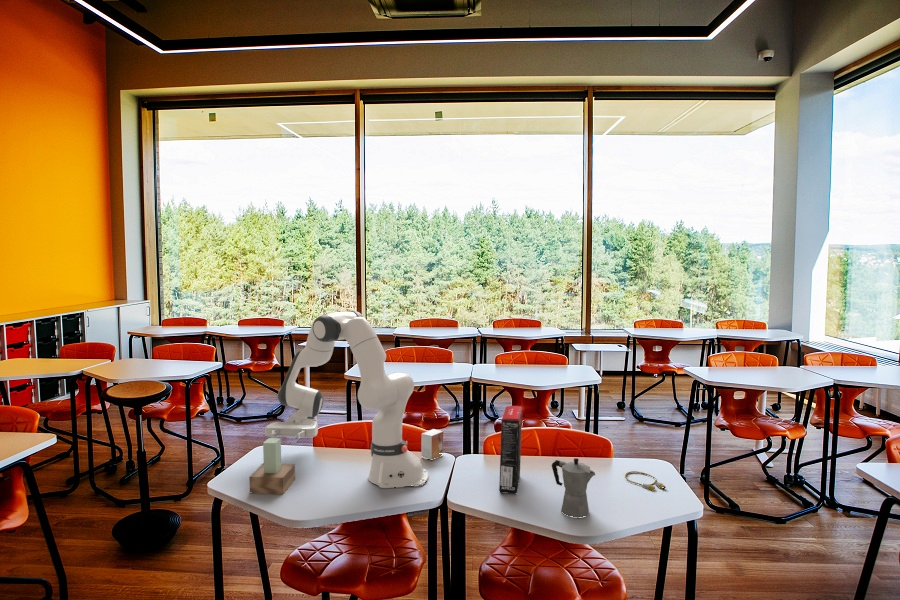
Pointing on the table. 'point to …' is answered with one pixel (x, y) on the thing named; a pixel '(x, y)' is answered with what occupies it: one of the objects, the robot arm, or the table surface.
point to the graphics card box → (510, 449)
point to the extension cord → (647, 484)
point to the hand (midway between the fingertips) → (284, 436)
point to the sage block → (272, 455)
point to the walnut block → (272, 480)
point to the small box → (432, 444)
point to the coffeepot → (574, 486)
